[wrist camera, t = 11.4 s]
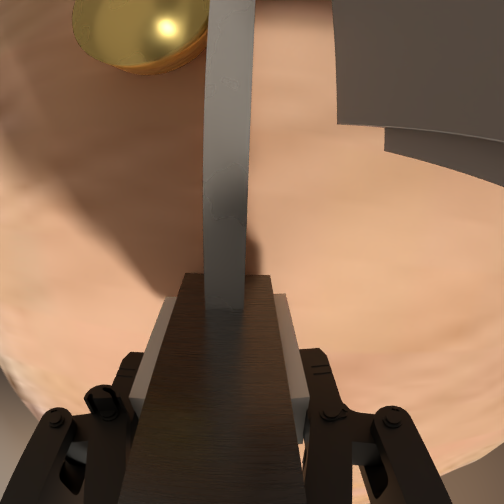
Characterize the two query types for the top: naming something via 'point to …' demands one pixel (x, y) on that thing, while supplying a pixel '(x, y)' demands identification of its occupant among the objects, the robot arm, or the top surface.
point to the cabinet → (426, 78)
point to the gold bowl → (142, 32)
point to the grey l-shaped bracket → (220, 328)
